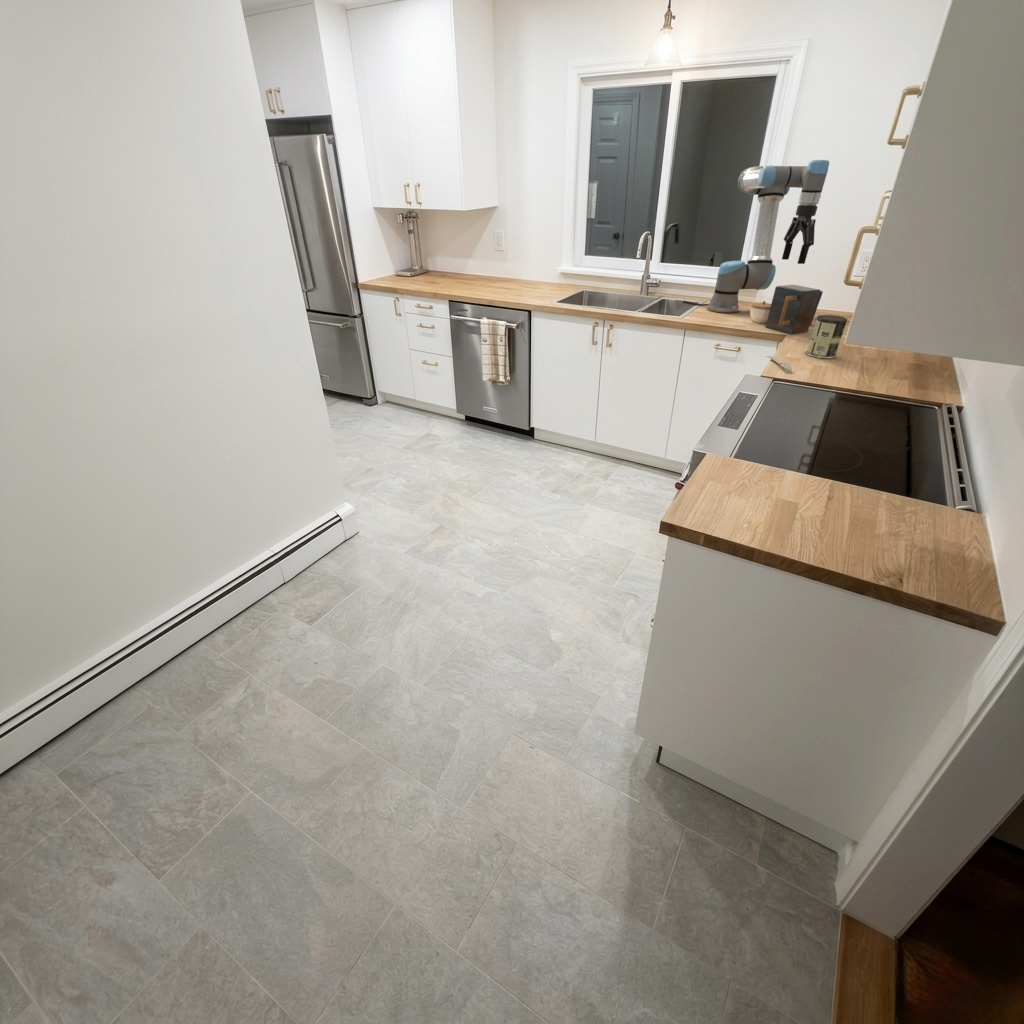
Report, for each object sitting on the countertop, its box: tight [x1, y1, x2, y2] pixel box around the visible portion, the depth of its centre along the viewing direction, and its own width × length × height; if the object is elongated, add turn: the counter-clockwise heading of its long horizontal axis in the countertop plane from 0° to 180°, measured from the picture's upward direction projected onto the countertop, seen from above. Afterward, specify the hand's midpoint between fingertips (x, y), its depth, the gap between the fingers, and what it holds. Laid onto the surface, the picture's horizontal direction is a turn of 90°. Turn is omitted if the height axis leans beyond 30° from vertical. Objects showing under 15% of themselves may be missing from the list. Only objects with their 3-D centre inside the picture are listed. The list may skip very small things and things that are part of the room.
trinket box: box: [749, 300, 771, 324], centre depth 256 cm, size 11×11×9 cm
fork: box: [765, 355, 793, 374], centre depth 198 cm, size 3×21×3 cm, turn 178°
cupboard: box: [777, 284, 821, 335], centre depth 240 cm, size 10×14×18 cm
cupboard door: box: [765, 285, 804, 335], centre depth 237 cm, size 7×14×18 cm, turn 26°
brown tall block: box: [810, 290, 824, 326], centre depth 251 cm, size 7×7×15 cm
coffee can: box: [806, 314, 848, 360], centre depth 206 cm, size 10×10×14 cm
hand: (792, 261), depth 231 cm, fingers open, 13 cm apart
